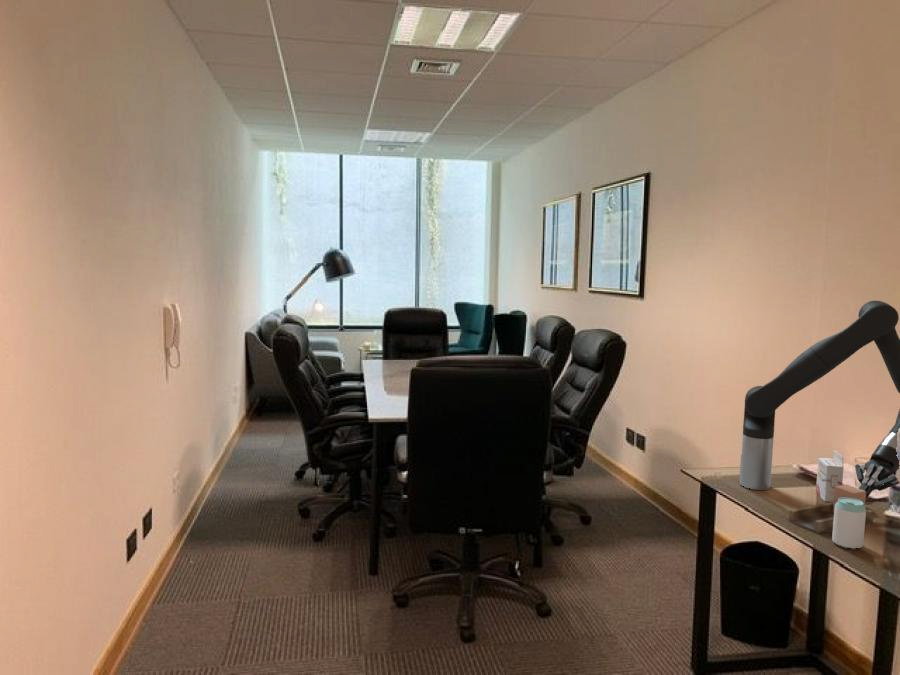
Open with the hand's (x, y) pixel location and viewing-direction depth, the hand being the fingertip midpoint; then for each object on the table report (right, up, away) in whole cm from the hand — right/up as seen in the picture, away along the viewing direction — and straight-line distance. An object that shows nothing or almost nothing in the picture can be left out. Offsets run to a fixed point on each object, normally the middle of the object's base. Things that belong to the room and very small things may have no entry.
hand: (860, 496), depth 193 cm
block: (-4, -6, -1) cm, 8 cm away
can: (-15, -8, -19) cm, 26 cm away
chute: (-11, -6, -4) cm, 13 cm away
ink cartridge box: (-1, -4, +16) cm, 16 cm away
